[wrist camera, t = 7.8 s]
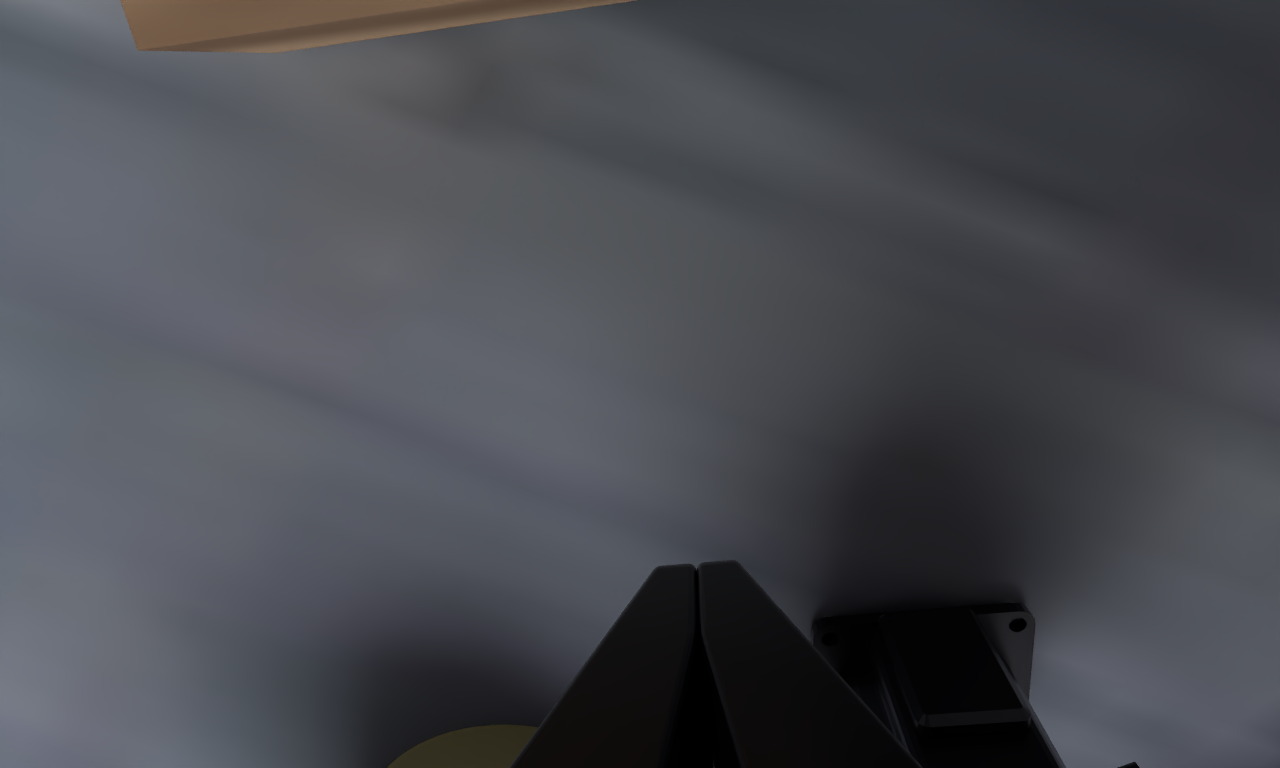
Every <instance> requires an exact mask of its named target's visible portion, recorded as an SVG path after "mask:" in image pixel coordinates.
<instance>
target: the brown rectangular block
mask: <svg viewBox="0 0 1280 768" xmlns="http://www.w3.org/2000/svg"><path fill="white" fill-rule="evenodd" d="M120 1H121V3H122V6H123V9H124V12H125V15H126V18H127V21H128V24H129V27H130V30H131V32H132V35H133V38H134V41H135V44H136V47H137V50H143V51H200V52H257V53H279V52H286V51H293V50H300V49H307V48H313V47H320V46H327V45H334V44H341V43H348V42H355V41H361V40H368V39H375V38H382V37H389V36H396V35H403V34H409V33H416V32H423V31H430V30H437V29H444V28H451V27H457V26H464V25H471V24H478V23H485V22H492V21H498V20H505V19H512V18H519V17H526V16H533V15H540V14H546V13H553V12H560V11H567V10H574V9H581V8H588V7H594V6H601V5H608V4H615V3H622V2H629V1H636V0H120Z"/></svg>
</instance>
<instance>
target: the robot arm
mask: <svg viewBox="0 0 1280 768" xmlns="http://www.w3.org/2000/svg"><path fill="white" fill-rule="evenodd" d="M1017 618H1020V619H1019V620H1018V621H1017V622H1014V623H1010V622H1011V621H1012V620H1014V619H1017ZM826 633H835V634H833V635H832V636H830V637H824V636H823V635H824V634H826ZM1034 634H1035V619H1034V617H1033V616H1032V614H1031V613H1030V611H1029V610H1028V608H1027V607H1026V606H1025V605H1023V604H1021V603H1003V604H990V605H977V606H964V607H951V608H938V609H926V610H913V611H900V612H887V613H874V614H861V615H848V616H835V617H826V618H821V619H819V620H818V621H816V622H815V623H814V624H813V626H812V629H811V643H812V644H811V643H810V642H809V640H808V639H807V638H806V637H805V636H804V635H803V634H802V633H801V631H800V630H799V629H798V628H797V627H796V626H795V625H794V624H793V623H792V621H791V620H790V619H789V618H788V617H787V616H786V615H785V614H784V613H783V611H782V610H781V609H780V608H779V607H778V606H777V605H776V604H775V602H774V601H773V600H772V599H771V598H770V597H769V596H768V595H767V594H766V592H765V591H764V590H763V589H762V588H761V587H760V586H759V585H758V584H757V582H756V581H755V580H754V579H753V578H752V577H751V576H750V575H749V573H748V572H747V571H746V570H745V569H744V568H743V567H742V566H741V565H740V564H739V563H738V562H737V561H735V560H727V561H715V562H704V563H701V564H700V565H699V566H698V568H697V570H696V568H695V566H694V565H692V564H678V565H666V566H658V567H656V568H655V569H654V570H653V571H652V573H651V574H650V575H649V577H648V578H647V579H646V581H645V582H644V584H643V585H642V586H641V588H640V589H639V590H638V592H637V593H636V595H635V596H634V597H633V599H632V600H631V601H630V603H629V604H628V605H627V607H626V608H625V610H624V611H623V612H622V614H621V615H620V616H619V618H618V619H617V621H616V622H615V623H614V625H613V626H612V627H611V629H610V630H609V631H608V633H607V634H606V636H605V637H604V638H603V640H602V641H601V642H600V644H599V645H598V647H597V648H596V649H595V651H594V652H593V653H592V655H591V656H590V658H589V659H588V660H587V662H586V663H585V664H584V666H583V667H582V668H581V670H580V671H579V673H578V674H577V675H576V677H575V678H574V679H573V681H572V682H571V684H570V685H569V686H568V688H567V689H566V690H565V692H564V693H563V694H562V696H561V697H560V699H559V700H558V701H557V703H556V704H555V705H554V707H553V708H552V710H551V711H550V712H549V714H548V715H547V716H546V718H545V719H544V720H543V722H542V723H541V725H540V726H539V727H538V729H537V730H536V731H535V733H534V734H533V736H532V737H531V738H530V740H529V741H528V742H527V744H526V745H525V746H524V748H523V749H522V751H521V752H520V753H519V755H518V756H517V757H516V759H515V760H514V762H513V763H512V764H511V766H510V767H509V768H1066V767H1065V765H1064V763H1063V761H1062V760H1061V758H1060V756H1059V754H1058V752H1057V751H1056V749H1055V747H1054V745H1053V744H1052V742H1051V740H1050V738H1049V737H1048V735H1047V733H1046V731H1045V729H1044V728H1043V726H1042V724H1041V722H1040V721H1039V719H1038V717H1037V715H1036V714H1035V712H1034V710H1033V708H1032V707H1031V705H1030V703H1029V690H1030V679H1031V668H1032V656H1033V645H1034ZM1118 768H1139V766H1138V765H1137V764H1136V763H1135V762H1133V763H1130V764H1127V765H1124V766H1121V767H1118Z"/></svg>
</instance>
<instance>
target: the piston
mask: <svg viewBox="0 0 1280 768" xmlns="http://www.w3.org/2000/svg"><path fill="white" fill-rule="evenodd" d="M537 729H538V727H533V726H524V725H485V726H476V727H469V728H464V729H459V730H455V731H451V732H447V733H444V734H441V735H438V736H436V737H433V738H431V739H428V740H426V741H424V742H422V743H420V744H418V745H416V746H414V747H412V748H411V749H409V750H408V751H406V752H405V753H403V754H402V755H401V756H399V757H398V758H397V759H396V760H394V761H393V762H392V763H391V764H390V765H389V766H388V767H387V768H509V767H510V766H511V764H512V763H513V762H514V760H515V759H516V757H517V756H518V755H519V753H520V752H521V751H522V749H523V748H524V746H525V745H526V744H527V742H528V741H529V740H530V738H531V737H532V736H533V734H534V733H535V731H536V730H537Z"/></svg>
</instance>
